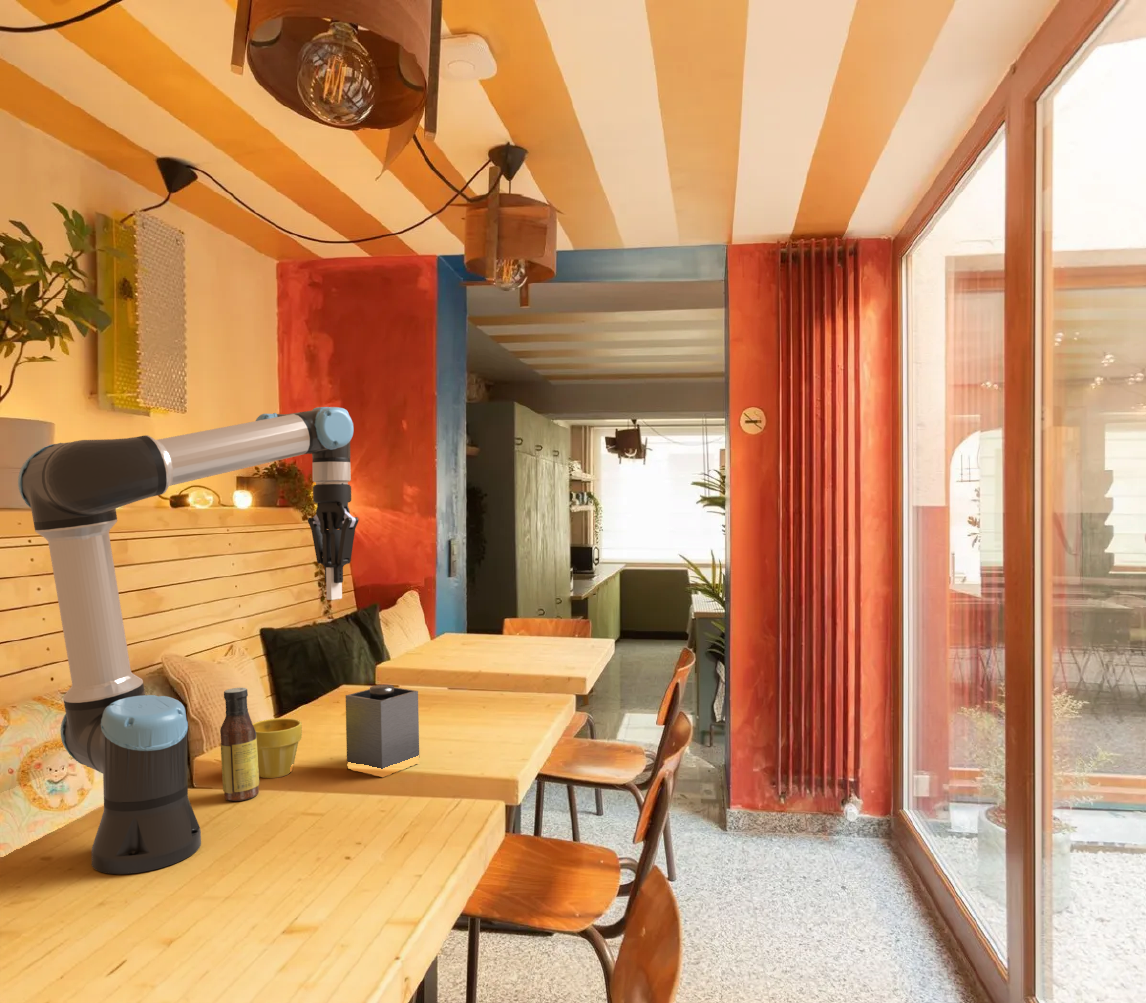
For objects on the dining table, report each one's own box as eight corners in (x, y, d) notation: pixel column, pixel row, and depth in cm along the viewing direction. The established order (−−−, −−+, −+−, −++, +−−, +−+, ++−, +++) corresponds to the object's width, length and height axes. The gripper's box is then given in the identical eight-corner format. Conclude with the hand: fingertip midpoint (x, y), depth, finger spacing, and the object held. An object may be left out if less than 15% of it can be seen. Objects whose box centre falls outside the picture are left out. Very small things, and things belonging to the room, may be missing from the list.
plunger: (382, 761, 164) (380, 693, 164) (354, 754, 169) (352, 689, 169) (412, 750, 171) (410, 685, 171) (384, 744, 176) (382, 681, 176)
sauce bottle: (265, 791, 157) (263, 685, 157) (249, 803, 151) (247, 693, 151) (232, 790, 157) (230, 685, 157) (214, 802, 151) (212, 693, 151)
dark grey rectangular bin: (382, 778, 163) (380, 701, 163) (347, 769, 169) (345, 695, 169) (431, 759, 174) (430, 687, 174) (397, 751, 180) (395, 682, 180)
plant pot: (291, 781, 162) (290, 731, 162) (239, 782, 162) (238, 732, 162) (309, 764, 172) (308, 717, 172) (260, 765, 173) (259, 718, 173)
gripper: (368, 482, 170) (370, 598, 170) (325, 484, 177) (328, 595, 177) (339, 482, 164) (341, 602, 164) (296, 484, 171) (298, 599, 171)
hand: (334, 598), depth 170 cm, fingers closed
